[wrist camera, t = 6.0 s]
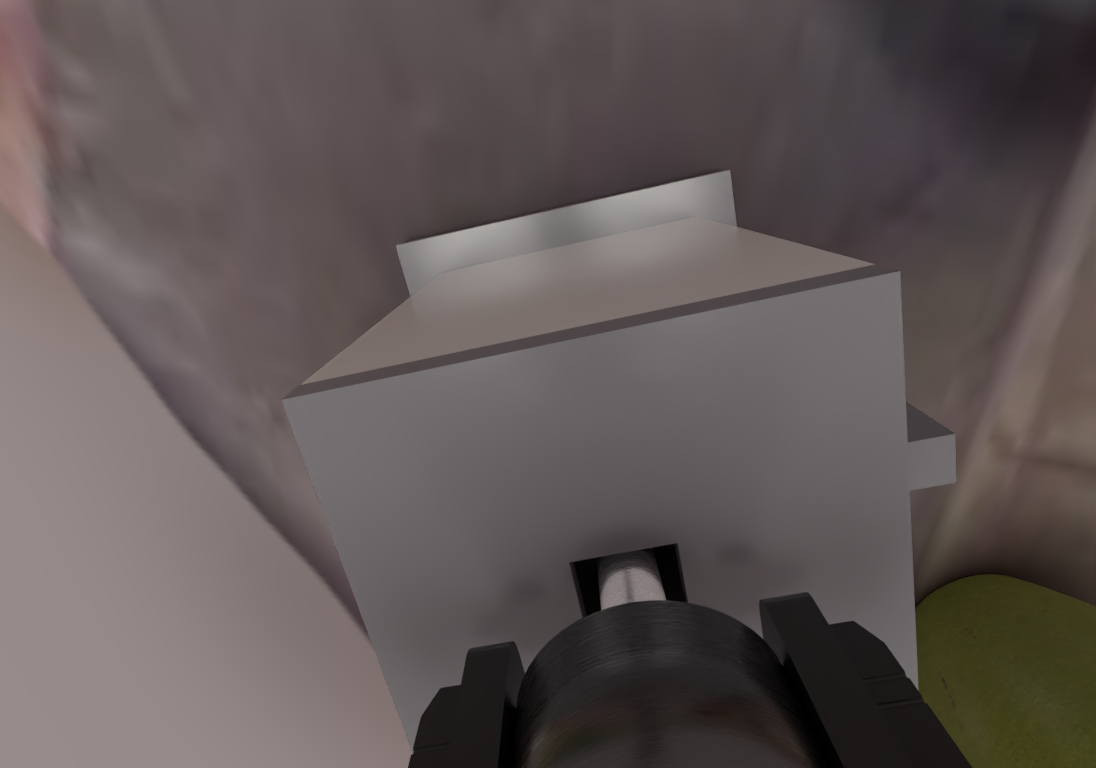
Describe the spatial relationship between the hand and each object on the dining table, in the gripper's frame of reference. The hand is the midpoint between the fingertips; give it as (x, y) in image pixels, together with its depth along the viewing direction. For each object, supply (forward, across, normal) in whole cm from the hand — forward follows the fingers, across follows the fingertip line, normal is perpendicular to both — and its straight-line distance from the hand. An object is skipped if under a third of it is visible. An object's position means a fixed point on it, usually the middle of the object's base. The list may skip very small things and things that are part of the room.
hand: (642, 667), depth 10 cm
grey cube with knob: (+18, 0, 0) cm, 18 cm away
